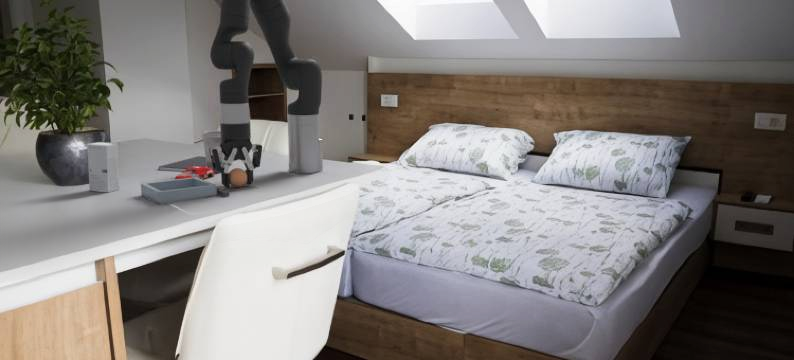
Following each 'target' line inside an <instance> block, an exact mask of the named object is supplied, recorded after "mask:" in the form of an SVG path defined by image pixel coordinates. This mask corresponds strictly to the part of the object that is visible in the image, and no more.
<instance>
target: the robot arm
mask: <svg viewBox="0 0 794 360" xmlns="http://www.w3.org/2000/svg"><path fill="white" fill-rule="evenodd" d="M285 1H286V0H221V3H220V14H219V15H220V17H219V19H220V20H219V24H218V28H217V31H216V34H215V36H214V39H213V42H212V45H211V48H210V52H209V53H210V54H209V55H210V57H209V58H210V61H211V63H212V65H213V67H214V68H216V69H217V70H224V71H225V70H226V71H227V70H229V71H231V70H233V71H234V70H236V74H235V76H234V77H233V78H228V79H223V80H221V81H220V83H219V104H220V105H219V128H220V130H219V131H220V133H221V144H220V147H217V148H210V149H209V152H210V156H211V161H212V165H213V169H214V170H216V171H218V172H221V173H220V177H221V186H224V187H226V188H227V187H230V181H229V172H230V167H231V166H232V164H233V162H234V161H238V160H239V161H241V162H242V164H243V165H244V168H245V170H244V171H245V172H246V174H247V182H246V184H248V185H252V184H253V182H254V170H255V169H256V168H260V166H261V162H262V155H263V154H262V152H263V145H262V144H259V143H255V144H253V143H252V142H251V139H252V138H251V137H252V136H251V135H252V132H251V131H252V130H251V111H250V104H249V83H250V77H251V72H252V68H253V64H254V60H255V51H254V48H253V47H252V45H251V44H250V43H249V42H247V41H244V40H243V41H241V40H240V41H238V40H235V41H233V40H232V39H233V38H234V37H235V36H239V35H242V34H245V33H247V32H248V30H249V25H250V11H252V14H253V17H254V18H255V20H256V23H257V24H258V26H259V28H260V30H261V32H262V34H263V37H264V39H265V41H266V43H267V45H268V47H269V50H270V53H271V55H272V58H273V61H274V64H275V66H276V69H277V72H278V75H279V78H280V79H281V82H282V83H283V85H284V86H285V87H286V88H287V89H289V90H291V91H297V92H298V93H297V94H298V95H297V96H298V97H297V98H296V100H294V101H293V102H291V103H289V104H288V105H287V138H288V139H287V140H288V142H287V145H288V172H290V173H295V174H312V173H318V172H320V171H323V166H324V165H323V139H322V138H320V107H321V104H322V91H323V90H322V89H323V87H322V85H323V74H322V68H321V66H320V64H319V62H318V61H316V60H315V59H312V58H298V57H297V56H296V54H295V52H294V50H293V48H292V45H291V42H290V30H291V20H292V19H291V13H290V10H289V8H288V6H287V4H286V2H285ZM250 9H251V10H250ZM220 151H222V153H223V154H224V157H223V160H222V165H221V164H220V160H219V155H220ZM251 151H252V158H251V157H250V152H251Z"/></svg>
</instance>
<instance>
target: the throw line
mask: <svg viewBox="0 0 794 360" xmlns="http://www.w3.org/2000/svg"><path fill="white" fill-rule="evenodd" d="M216 189H217V195H219V196H221V197H223V198H228V197H230V192H229V191H227V190H224V189H222V188H219V187H217V186H216Z"/></svg>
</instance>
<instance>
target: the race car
mask: <svg viewBox="0 0 794 360" xmlns="http://www.w3.org/2000/svg"><path fill="white" fill-rule="evenodd" d="M181 172H182V173H180V174H178V175H176V176H175V177H174V180H175V179H184V178H193V177H197V178H200V179H202V180H205V181H206V180H208V179H211V178H214V177H215V174H214V171H213V169H212V168H208V167H202V166H195V167H190V168H188V169H186V170H185V171H181Z"/></svg>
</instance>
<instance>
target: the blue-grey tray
mask: <svg viewBox="0 0 794 360" xmlns="http://www.w3.org/2000/svg"><path fill="white" fill-rule="evenodd" d="M216 187H217V185H216V184H215V183H213V182H209V181H207V180H206V179H205V180H202V179H200V178H197V177H193V178H184V179H175V178H174V179H167V180H161V181H160V180H159V181H149V182H143V183H140V191H141V196H142V197H144V198H146V199H148V200H149V199H150V200H149V201H151V202H153V203H154V204H156V205H158V204H159V206H162V205H161V204H163V205H167V204H168V205H169V204H170V205H171V204H172V203H173V202H180V201H181V202H182V201H188V200H195V199H203V198H210V197H217V195H218V194H217V189H216Z"/></svg>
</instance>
